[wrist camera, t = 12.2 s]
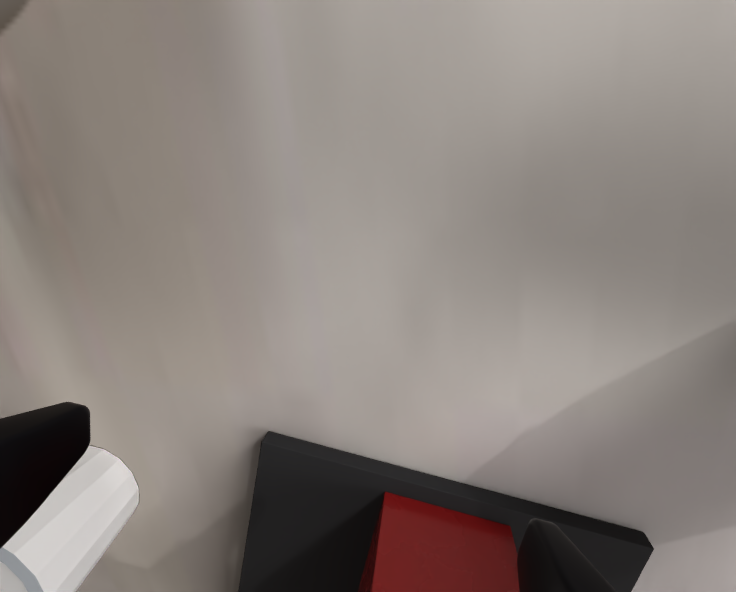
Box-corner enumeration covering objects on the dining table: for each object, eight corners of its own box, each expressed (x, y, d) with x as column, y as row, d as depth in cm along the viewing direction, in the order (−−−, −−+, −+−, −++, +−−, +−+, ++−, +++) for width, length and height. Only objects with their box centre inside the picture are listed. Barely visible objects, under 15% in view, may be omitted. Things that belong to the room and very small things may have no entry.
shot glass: (159, 463, 24) (56, 572, 17) (137, 547, 26) (38, 672, 20) (52, 418, 24) (-90, 508, 18) (39, 504, 26) (-93, 614, 20)
